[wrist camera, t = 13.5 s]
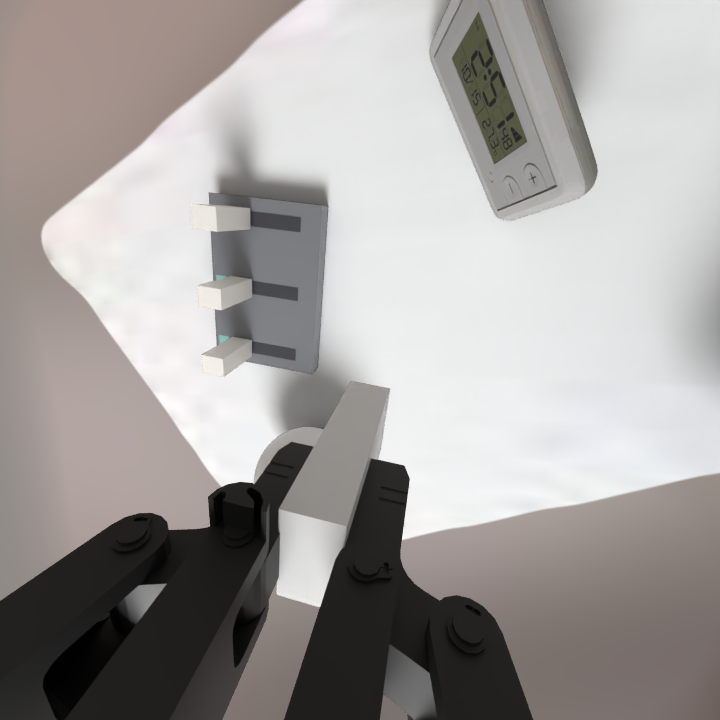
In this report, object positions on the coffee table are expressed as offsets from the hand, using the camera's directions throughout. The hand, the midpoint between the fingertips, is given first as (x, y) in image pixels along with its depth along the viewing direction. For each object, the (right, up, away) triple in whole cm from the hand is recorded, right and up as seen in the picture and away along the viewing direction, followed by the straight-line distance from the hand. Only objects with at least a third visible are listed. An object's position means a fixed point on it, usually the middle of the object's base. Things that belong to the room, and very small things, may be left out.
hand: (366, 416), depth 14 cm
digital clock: (+11, +23, +18) cm, 31 cm away
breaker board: (-10, +11, +27) cm, 31 cm away
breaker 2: (-14, +4, +28) cm, 32 cm away
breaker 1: (-12, +17, +23) cm, 31 cm away
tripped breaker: (-13, +10, +25) cm, 30 cm away
